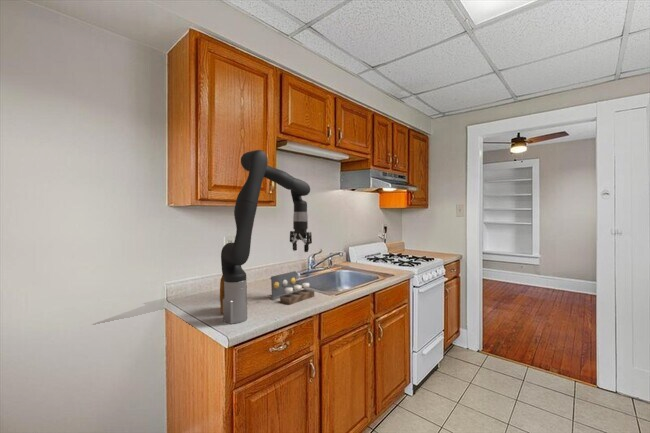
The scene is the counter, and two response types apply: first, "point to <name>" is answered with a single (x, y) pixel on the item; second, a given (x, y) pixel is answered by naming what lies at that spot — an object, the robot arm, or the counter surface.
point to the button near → (289, 290)
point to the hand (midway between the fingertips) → (300, 251)
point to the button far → (305, 285)
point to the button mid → (297, 287)
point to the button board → (296, 296)
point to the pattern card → (282, 284)
